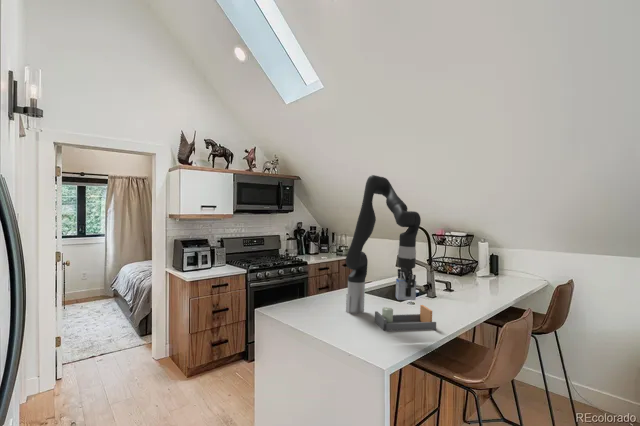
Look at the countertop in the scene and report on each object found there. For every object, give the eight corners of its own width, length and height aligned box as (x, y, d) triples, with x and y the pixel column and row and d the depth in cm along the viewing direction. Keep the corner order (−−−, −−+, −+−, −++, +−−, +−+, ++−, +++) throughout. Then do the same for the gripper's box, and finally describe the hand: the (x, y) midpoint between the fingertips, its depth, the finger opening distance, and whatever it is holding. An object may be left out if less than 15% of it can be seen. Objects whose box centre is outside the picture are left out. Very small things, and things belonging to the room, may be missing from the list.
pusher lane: (383, 332, 150) (384, 320, 150) (374, 323, 162) (375, 311, 162) (436, 330, 154) (436, 318, 154) (423, 321, 167) (423, 310, 167)
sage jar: (384, 327, 154) (384, 310, 154) (380, 323, 159) (380, 307, 159) (394, 327, 155) (394, 310, 155) (390, 323, 160) (390, 307, 160)
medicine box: (412, 297, 147) (413, 278, 147) (415, 300, 142) (416, 280, 142) (395, 297, 147) (395, 278, 146) (397, 300, 142) (398, 280, 142)
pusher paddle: (429, 327, 155) (430, 310, 155) (419, 320, 165) (420, 304, 165) (431, 327, 156) (432, 310, 155) (422, 320, 165) (422, 304, 165)
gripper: (392, 253, 151) (391, 290, 151) (405, 259, 136) (404, 299, 137) (407, 254, 152) (406, 290, 152) (422, 259, 138) (421, 299, 138)
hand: (405, 294), depth 144 cm, fingers closed on medicine box, 4 cm apart
